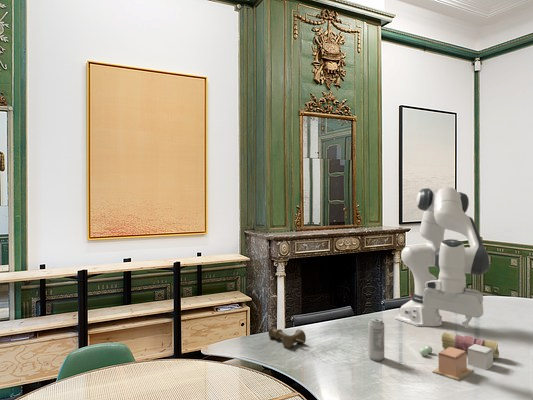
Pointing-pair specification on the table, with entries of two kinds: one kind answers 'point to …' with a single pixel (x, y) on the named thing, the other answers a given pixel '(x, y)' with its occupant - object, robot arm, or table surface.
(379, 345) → the energy drink can
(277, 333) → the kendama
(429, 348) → the marble
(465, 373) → the cork pad
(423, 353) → the marble
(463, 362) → the pink paneled box
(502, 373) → the table surface
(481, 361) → the off-white bevelled cube
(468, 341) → the scroll
